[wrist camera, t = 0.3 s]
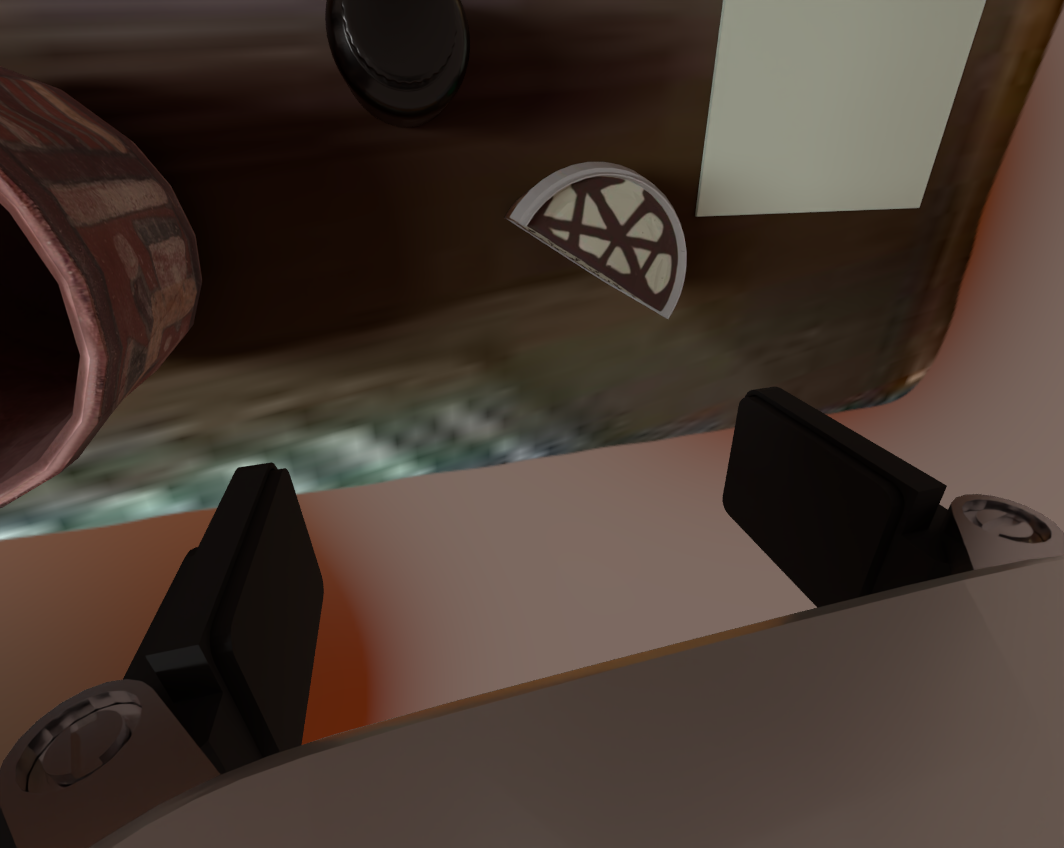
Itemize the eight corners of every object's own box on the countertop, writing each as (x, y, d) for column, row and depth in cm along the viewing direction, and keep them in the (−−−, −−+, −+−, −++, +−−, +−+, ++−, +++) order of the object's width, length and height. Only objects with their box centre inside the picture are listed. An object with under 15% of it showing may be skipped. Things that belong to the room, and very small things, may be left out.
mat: (729, -47, 33) (732, -49, 33) (990, -25, 38) (994, -26, 38) (694, 216, 41) (696, 216, 40) (916, 207, 45) (919, 207, 45)
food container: (658, 220, 40) (732, 237, 31) (615, 289, 42) (674, 323, 33) (530, 122, 35) (576, 111, 26) (486, 206, 36) (516, 221, 28)
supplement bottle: (460, 14, 31) (496, -57, 21) (446, 139, 34) (472, 130, 24) (341, -23, 29) (316, -122, 19) (337, 113, 32) (313, 91, 22)
